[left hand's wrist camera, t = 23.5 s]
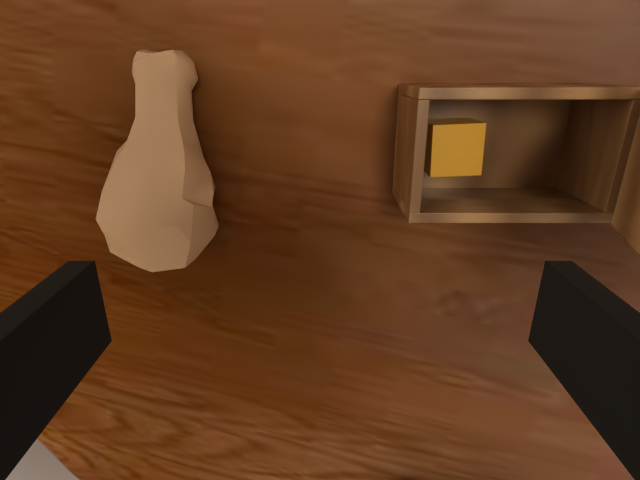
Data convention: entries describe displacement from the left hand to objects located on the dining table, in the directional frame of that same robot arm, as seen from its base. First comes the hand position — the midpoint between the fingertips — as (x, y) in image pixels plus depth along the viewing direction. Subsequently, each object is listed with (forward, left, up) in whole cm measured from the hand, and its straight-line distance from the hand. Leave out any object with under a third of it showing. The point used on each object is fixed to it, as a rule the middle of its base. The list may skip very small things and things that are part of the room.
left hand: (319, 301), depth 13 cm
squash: (-14, -3, -32) cm, 35 cm away
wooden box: (+16, +2, -32) cm, 35 cm away
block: (+12, +1, -31) cm, 33 cm away
